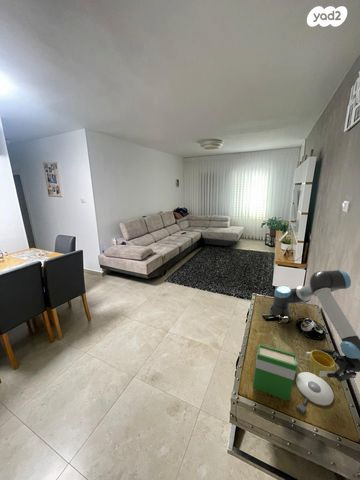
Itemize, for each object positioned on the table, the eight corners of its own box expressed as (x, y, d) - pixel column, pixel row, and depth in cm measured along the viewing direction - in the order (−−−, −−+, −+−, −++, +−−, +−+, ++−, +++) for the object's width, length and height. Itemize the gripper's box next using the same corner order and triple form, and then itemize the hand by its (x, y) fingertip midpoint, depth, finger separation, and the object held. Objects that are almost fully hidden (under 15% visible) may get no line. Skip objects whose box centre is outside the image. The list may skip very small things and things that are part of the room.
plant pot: (327, 366, 107) (331, 352, 104) (333, 384, 98) (338, 370, 95) (305, 360, 110) (308, 347, 107) (309, 377, 101) (313, 363, 98)
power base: (303, 368, 119) (303, 365, 118) (337, 390, 106) (338, 388, 106) (282, 397, 104) (282, 394, 103) (319, 428, 91) (320, 425, 90)
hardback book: (287, 387, 108) (295, 354, 101) (289, 401, 102) (296, 366, 94) (253, 375, 115) (258, 343, 108) (253, 387, 109) (257, 354, 101)
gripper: (374, 391, 92) (326, 391, 92) (337, 350, 114) (299, 350, 114) (379, 379, 90) (330, 379, 90) (340, 340, 111) (301, 340, 112)
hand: (312, 363), depth 102 cm, fingers closed on plant pot, 10 cm apart
